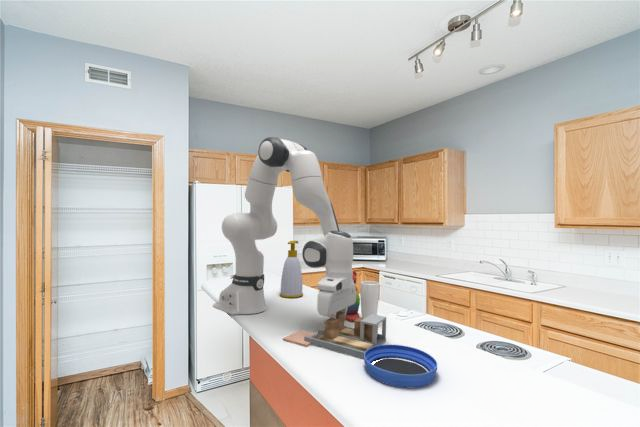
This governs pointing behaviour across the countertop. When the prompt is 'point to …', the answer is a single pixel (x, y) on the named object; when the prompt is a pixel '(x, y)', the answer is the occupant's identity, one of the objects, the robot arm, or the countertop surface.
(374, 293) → the drinking glass
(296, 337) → the coaster
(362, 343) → the strip near
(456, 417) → the countertop surface
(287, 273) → the soap bottle
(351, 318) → the stacking bear
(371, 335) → the walnut block
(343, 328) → the strip far
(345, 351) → the lane board
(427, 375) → the blue round shallow tray
